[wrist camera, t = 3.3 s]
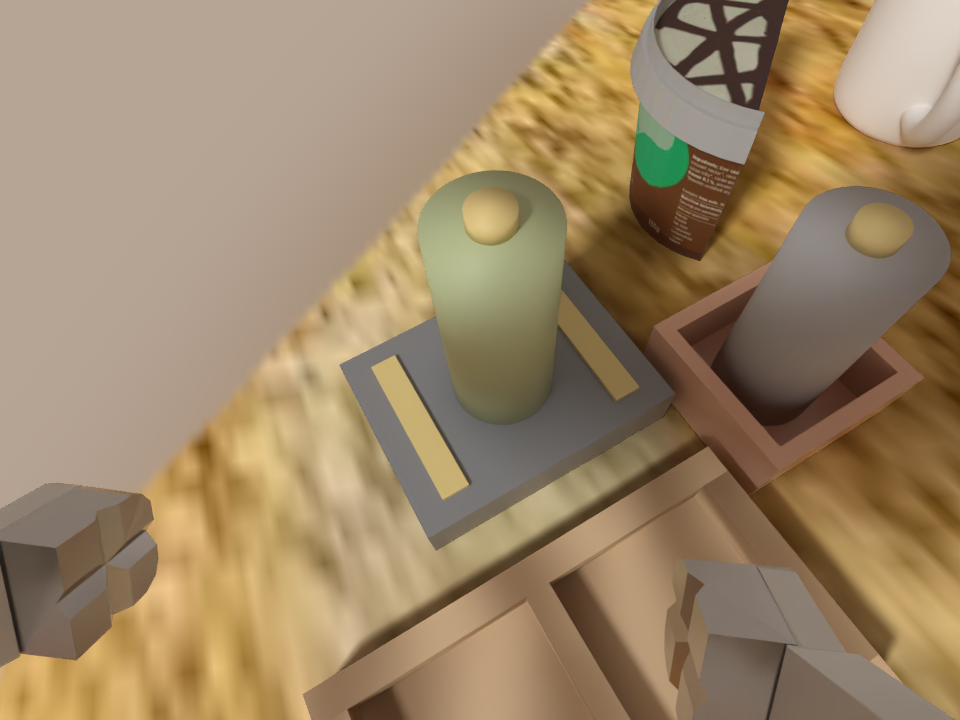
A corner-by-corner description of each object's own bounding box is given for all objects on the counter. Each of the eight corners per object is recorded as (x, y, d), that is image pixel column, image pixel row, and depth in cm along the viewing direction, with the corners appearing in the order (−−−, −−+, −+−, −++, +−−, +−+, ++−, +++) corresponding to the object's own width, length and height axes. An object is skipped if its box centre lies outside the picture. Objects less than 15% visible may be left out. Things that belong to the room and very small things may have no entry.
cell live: (518, 321, 27) (516, 132, 18) (571, 393, 25) (600, 225, 16) (435, 364, 26) (387, 190, 17) (483, 443, 24) (459, 295, 15)
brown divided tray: (694, 463, 26) (708, 446, 24) (872, 688, 21) (907, 689, 20) (321, 693, 23) (302, 694, 21) (441, 1017, 18) (431, 1057, 16)
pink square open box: (760, 296, 30) (787, 252, 27) (878, 412, 27) (925, 377, 23) (639, 364, 29) (653, 325, 25) (748, 496, 25) (779, 471, 22)
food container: (639, 108, 37) (674, -67, 29) (738, 128, 36) (807, -50, 27) (581, 252, 32) (602, 91, 23) (694, 282, 31) (762, 122, 22)
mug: (970, 213, 32) (1149, 27, 23) (810, 177, 34) (915, -8, 25) (977, 78, 37) (1124, -119, 28) (837, 53, 39) (932, -138, 30)
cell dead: (762, 326, 28) (880, 151, 19) (831, 396, 26) (1000, 239, 17) (690, 367, 28) (776, 206, 18) (755, 443, 26) (890, 306, 16)
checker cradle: (557, 282, 31) (560, 246, 29) (664, 416, 27) (679, 387, 24) (352, 388, 29) (335, 358, 26) (436, 550, 25) (425, 534, 22)
